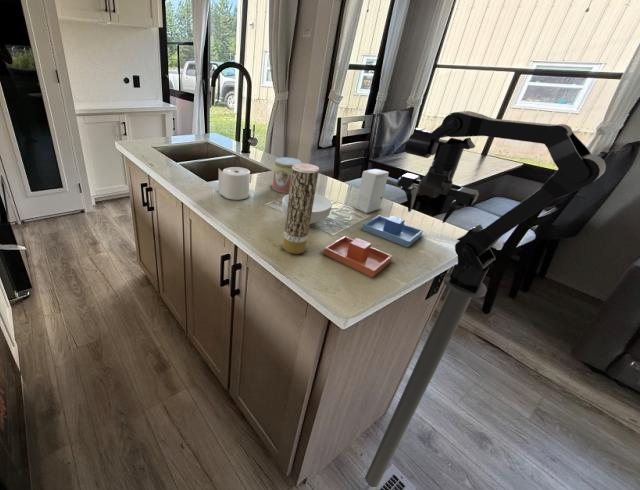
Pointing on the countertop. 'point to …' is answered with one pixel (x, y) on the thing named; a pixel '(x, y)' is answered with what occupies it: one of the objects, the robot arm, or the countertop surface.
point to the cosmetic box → (371, 190)
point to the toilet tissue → (234, 183)
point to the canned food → (283, 173)
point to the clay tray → (367, 266)
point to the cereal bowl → (314, 208)
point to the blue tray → (403, 238)
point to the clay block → (358, 249)
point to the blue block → (393, 225)
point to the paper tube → (300, 207)
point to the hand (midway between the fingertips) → (425, 216)
